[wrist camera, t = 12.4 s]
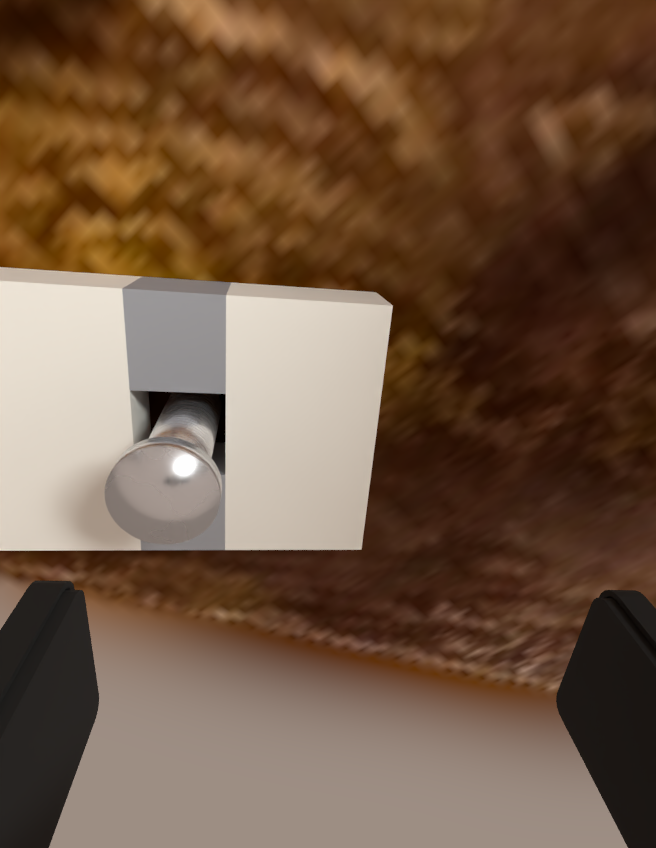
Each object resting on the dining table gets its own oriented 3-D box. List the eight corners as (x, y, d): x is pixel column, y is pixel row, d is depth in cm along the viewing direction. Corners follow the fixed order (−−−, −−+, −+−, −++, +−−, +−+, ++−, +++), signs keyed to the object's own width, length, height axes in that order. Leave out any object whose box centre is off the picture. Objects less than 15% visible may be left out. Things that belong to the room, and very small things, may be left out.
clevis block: (21, 509, 31) (-12, 550, 27) (-22, 265, 25) (-71, 276, 22) (350, 511, 33) (361, 549, 30) (375, 292, 28) (392, 305, 24)
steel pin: (153, 367, 28) (99, 446, 19) (234, 371, 29) (220, 449, 20) (157, 440, 30) (109, 544, 21) (233, 442, 30) (220, 544, 21)
